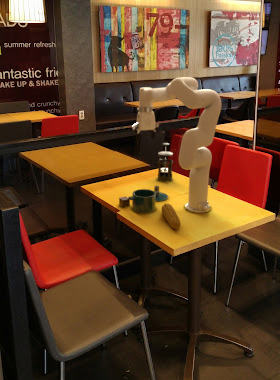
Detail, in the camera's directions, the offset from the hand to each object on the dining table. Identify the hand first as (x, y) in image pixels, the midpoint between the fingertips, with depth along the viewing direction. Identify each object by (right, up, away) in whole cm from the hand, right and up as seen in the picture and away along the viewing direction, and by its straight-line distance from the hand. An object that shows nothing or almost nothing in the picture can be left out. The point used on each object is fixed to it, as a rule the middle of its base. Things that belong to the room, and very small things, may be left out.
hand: (145, 139), depth 225 cm
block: (-11, -34, -23) cm, 42 cm away
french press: (+12, -25, +18) cm, 33 cm away
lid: (+6, -31, -13) cm, 34 cm away
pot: (-1, -35, -27) cm, 44 cm away
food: (+12, -39, -41) cm, 58 cm away
